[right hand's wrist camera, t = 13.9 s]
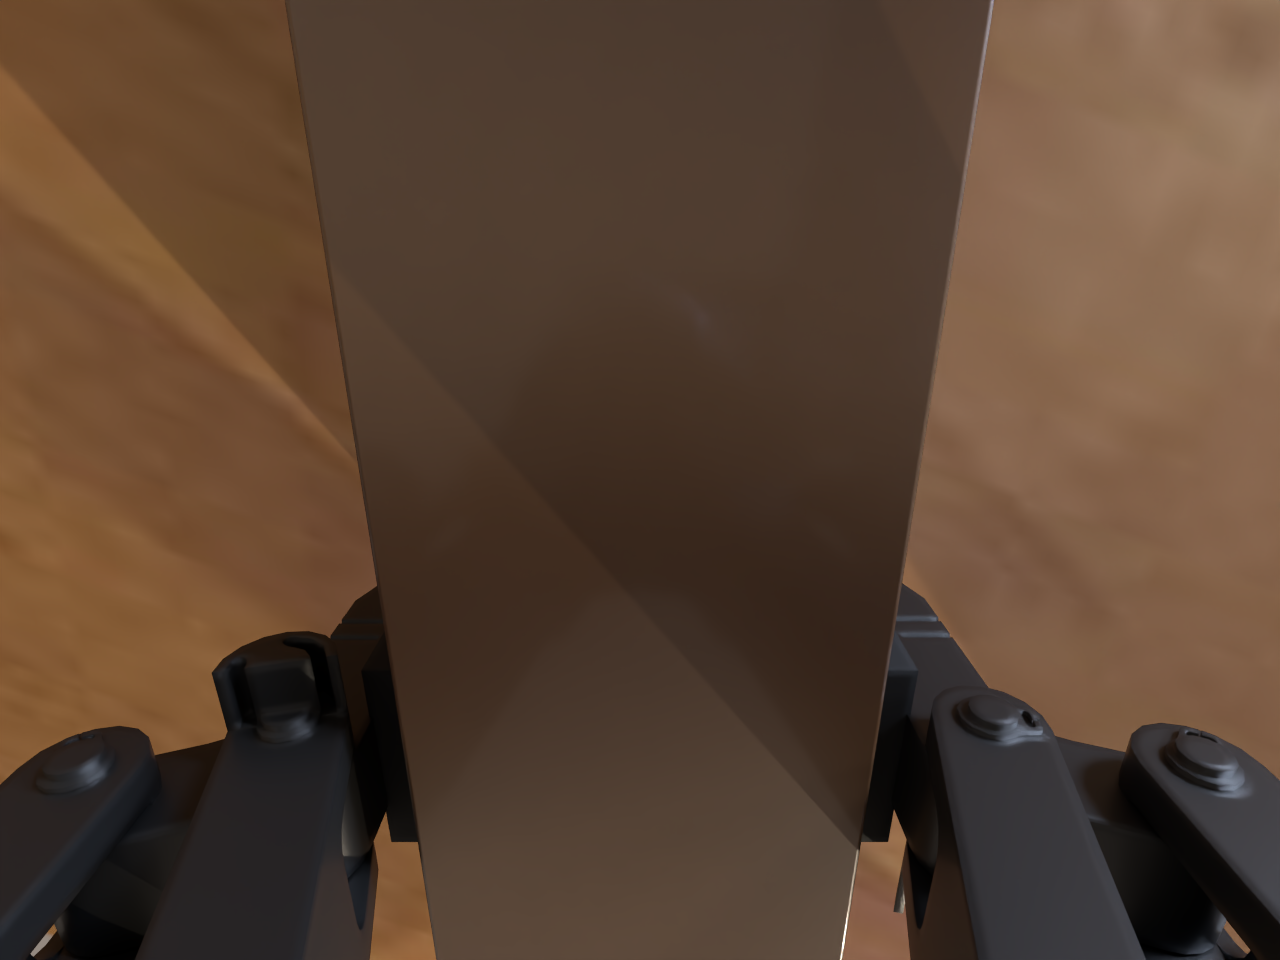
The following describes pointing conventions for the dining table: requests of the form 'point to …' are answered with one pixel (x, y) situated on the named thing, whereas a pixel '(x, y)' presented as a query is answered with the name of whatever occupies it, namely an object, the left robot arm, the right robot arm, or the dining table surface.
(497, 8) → the bar
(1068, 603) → the dining table surface
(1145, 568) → the dining table surface
